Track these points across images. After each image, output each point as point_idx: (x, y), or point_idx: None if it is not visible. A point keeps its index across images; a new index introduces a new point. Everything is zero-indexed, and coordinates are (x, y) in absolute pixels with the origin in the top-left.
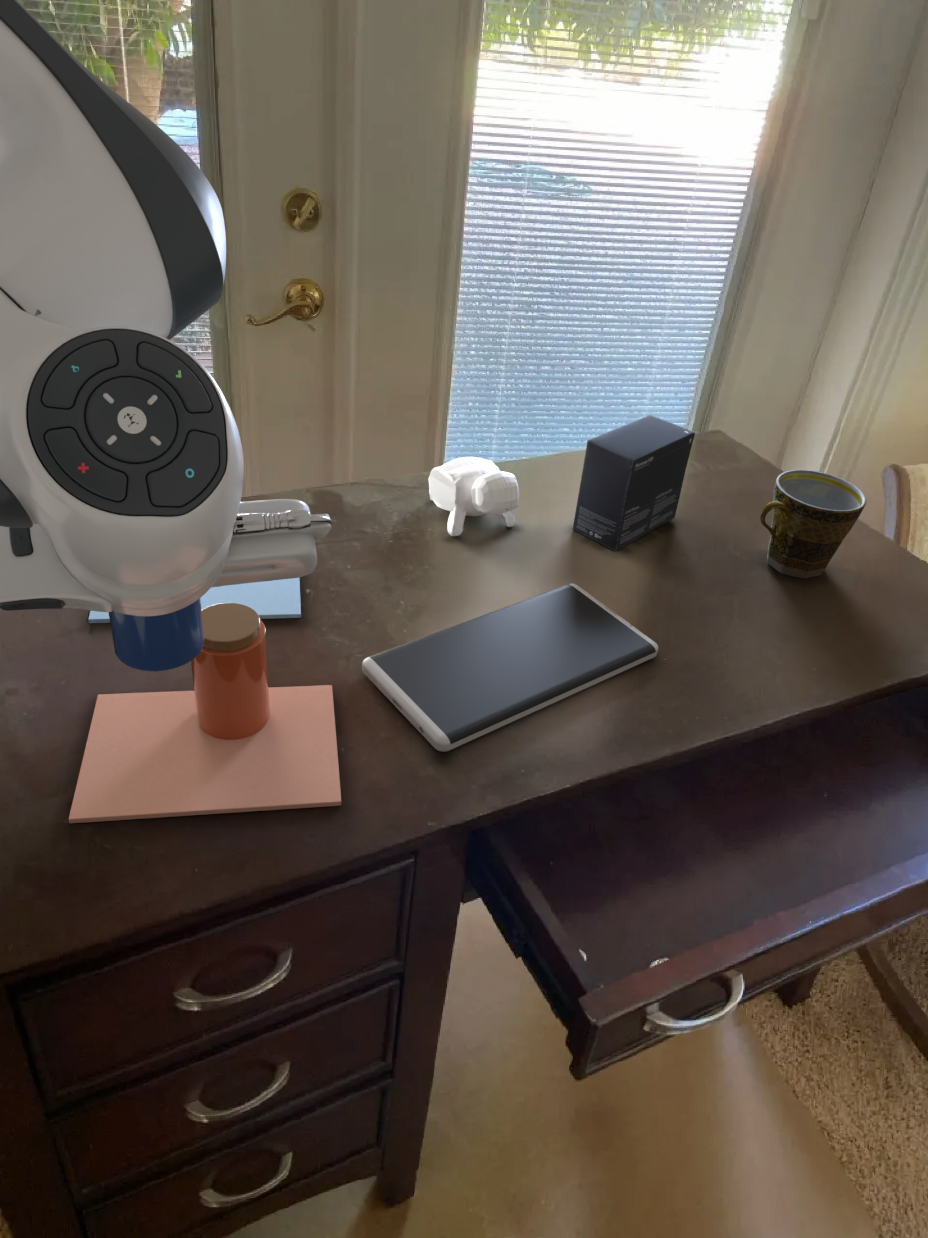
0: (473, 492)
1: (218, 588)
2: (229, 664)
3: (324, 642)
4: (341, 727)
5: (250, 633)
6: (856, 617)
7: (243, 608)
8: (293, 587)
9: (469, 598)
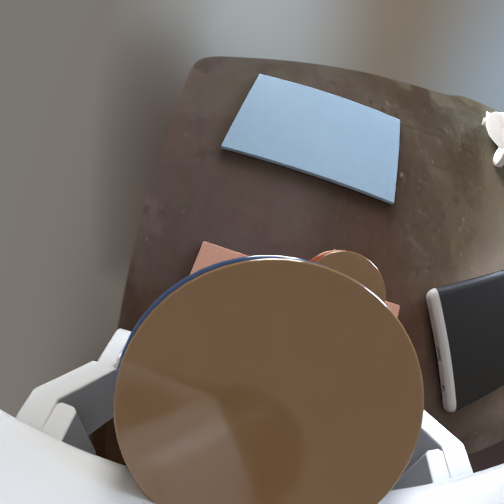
0: None
1: (333, 145)
2: None
3: (404, 243)
4: None
5: None
6: None
7: (371, 271)
8: (392, 168)
9: (500, 235)
